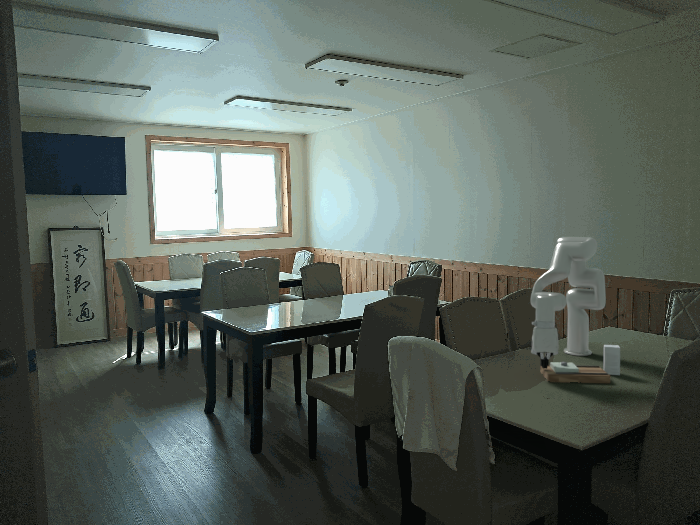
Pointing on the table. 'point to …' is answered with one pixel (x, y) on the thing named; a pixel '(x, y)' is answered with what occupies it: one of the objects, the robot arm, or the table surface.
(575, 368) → the lid
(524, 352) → the table surface
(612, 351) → the skincare box
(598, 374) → the brown wooden sliding box
